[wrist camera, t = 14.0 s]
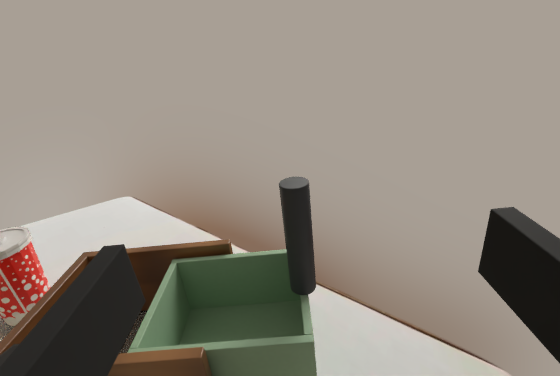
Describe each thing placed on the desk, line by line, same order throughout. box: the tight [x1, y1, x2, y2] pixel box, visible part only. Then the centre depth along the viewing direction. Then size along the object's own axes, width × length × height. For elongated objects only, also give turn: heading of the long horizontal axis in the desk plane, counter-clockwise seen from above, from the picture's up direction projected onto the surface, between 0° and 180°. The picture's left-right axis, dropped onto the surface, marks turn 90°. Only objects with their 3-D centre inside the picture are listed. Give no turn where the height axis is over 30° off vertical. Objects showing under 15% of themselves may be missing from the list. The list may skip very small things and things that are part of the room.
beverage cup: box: [0, 227, 50, 326], centre depth 32 cm, size 6×6×14 cm
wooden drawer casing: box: [0, 239, 233, 376], centre depth 26 cm, size 15×13×8 cm
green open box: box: [127, 177, 317, 376], centre depth 24 cm, size 13×10×16 cm
